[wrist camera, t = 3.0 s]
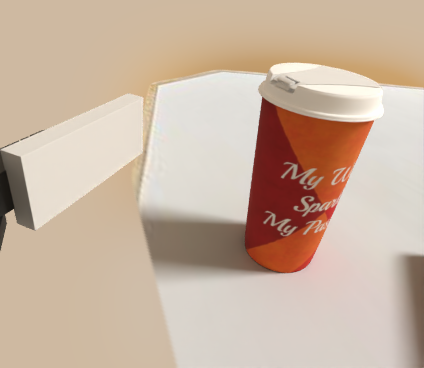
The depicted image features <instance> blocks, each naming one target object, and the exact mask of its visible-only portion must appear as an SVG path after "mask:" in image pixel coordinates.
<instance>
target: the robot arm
mask: <svg viewBox="0 0 424 368" xmlns="http://www.w3.org/2000/svg"><path fill="white" fill-rule="evenodd" d="M141 153H143V97H140V96H136V95H133V94H126V95H123V96H121V97H119V98H117V99H114V100H112V101H110V102H108V103H105V104H103V105H101V106H99V107H96V108H94V109H92V110H89V111H87V112H85V113H83V114H80V115H78V116H76V117H73V118H71V119H69V120H67V121H64V122H62V123H60V124H58V125H55V126H53V127H51V128H49V129H46V130H42V131H39V132H37V133H35V134H32V135H30V137H26V138H23V139H21V141H17V142H14V143H12V144H10V145H7V146H5V147H3V148H1V149H0V250H1V245H2V241H3V237H4V233H5V229H6V224H7V223H6V217H5V214H6V213H8V212H10V211H11V210H13V209H14V211H15V216H16V220H17V223H18V224H20V225H23V226H25V227H27V228H30V229H32V230H37V229H39V228H40V227H41V226H43V225H44V224H45V223H47V222H48V221H49V220H51V219H52V218H53V217H55V216H56V215H58V214H59V213H60V212H62V211H63V210H65V209H66V208H67V207H69V206H70V205H71V204H73V203H74V202H76V201H77V200H78V199H80V198H81V197H82V196H84V195H85V194H87V193H88V192H89V191H91V190H92V189H93V188H95V187H96V186H98V185H99V184H100V183H102V182H103V181H104V180H106V179H107V178H108V177H110V176H111V175H113V174H114V173H115V172H117V171H118V170H119V169H121V168H122V167H124V166H125V165H126V164H128V163H129V162H130V161H132V160H133V159H135V158H136V157H137V156H139V155H140V154H141Z"/></svg>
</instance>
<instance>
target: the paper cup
mask: <svg viewBox="0 0 424 368" xmlns="http://www.w3.org/2000/svg"><path fill="white" fill-rule="evenodd" d="M258 90H259V93H260V95H261V96H262V103H261V111H260V119H259V127H258V134H257V142H256V150H255V158H254V165H253V173H252V181H251V189H250V197H249V205H248V214H247V222H246V232H245V248H246V250H247V252H248V254H249V255H250V257H251V258H252V259H253V260H254V261H255V262H257V263H258V264H260V265H261V266H263V267H265V268H267V269H270V270H273V271H276V272H283V273H291V272H297V271H300V270H302V269H304V268H305V267H306V266H307V265H308V264H309V263H310V261H311V259H312V258H313V256H314V254H315V252H316V250H317V247H318V245H319V243H320V241H321V239H322V237H323V234H324V232H325V230H326V228H327V226H328V223H329V221H330V219H331V217H332V214H333V212H334V210H335V208H336V205H337V203H338V201H339V199H340V197H341V194H342V192H343V190H344V187H345V185H346V183H347V181H348V178H349V176H350V174H351V172H352V169H353V167H354V165H355V163H356V160H357V158H358V156H359V154H360V151H361V149H362V147H363V145H364V142H365V140H366V138H367V136H368V133H369V131H370V129H371V127H372V124H373V122H374V120H376V119H378V118H380V117H381V116H382V115H383V112H384V110H383V106H382V104H381V99H382V95H383V90H382V88H381V86H380V85H379V84H378V83H376V82H375V81H373V80H371V79H369V78H367V77H365V76H362V75H359V74H356V73H353V72H350V71H346V70H342V69H337V68H333V67H328V66H323V65H321V66H320V65H316V64H305V63H282V64H277V65H274V66H272V67H271V69H270V70H269V71H268V74H267V77H266V80H265V81H263V82H262V83H261V85H260V86H259V89H258Z"/></svg>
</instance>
